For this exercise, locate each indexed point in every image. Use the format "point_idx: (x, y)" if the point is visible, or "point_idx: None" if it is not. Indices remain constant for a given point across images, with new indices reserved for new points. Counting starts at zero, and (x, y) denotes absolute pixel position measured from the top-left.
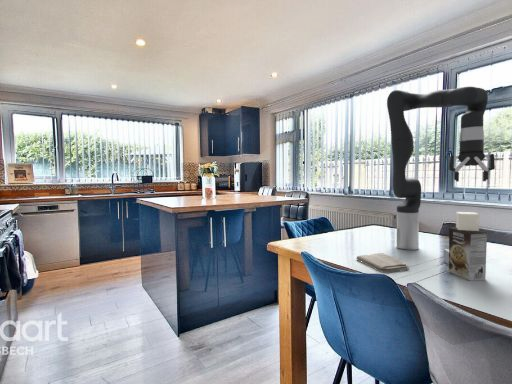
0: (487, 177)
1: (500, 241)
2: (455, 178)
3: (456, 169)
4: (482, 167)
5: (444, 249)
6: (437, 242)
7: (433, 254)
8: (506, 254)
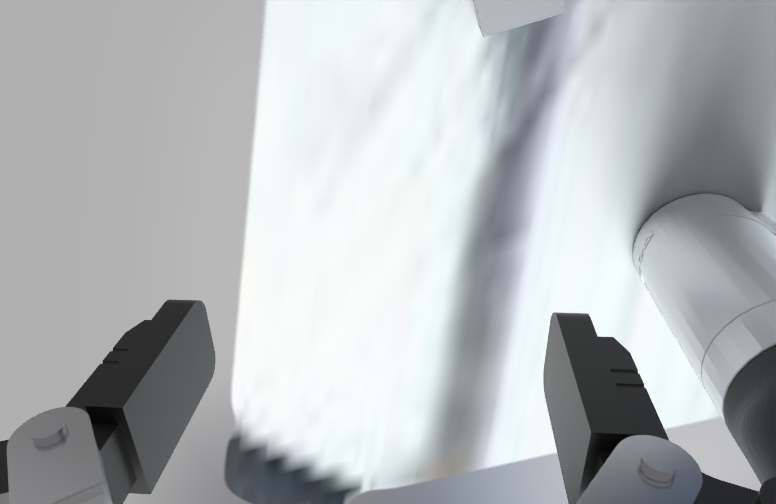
0: (125, 342)
1: (246, 481)
2: (613, 356)
3: (669, 487)
4: (97, 486)
5: (564, 4)
6: (506, 399)
7: (578, 141)
8: (245, 267)
